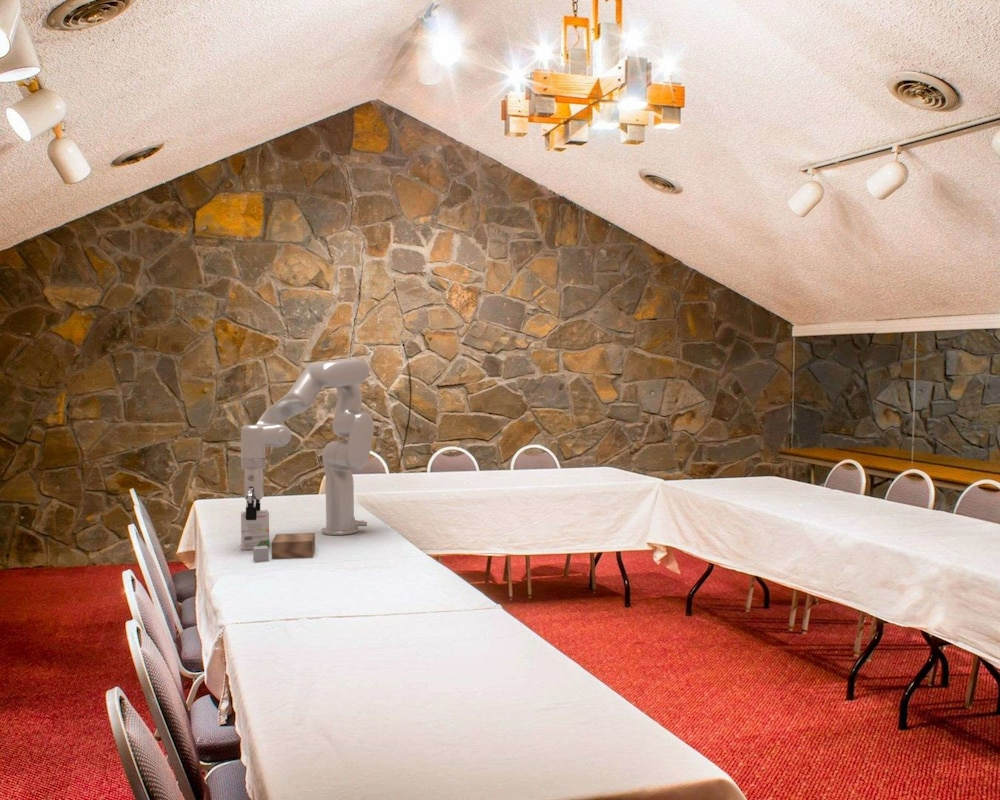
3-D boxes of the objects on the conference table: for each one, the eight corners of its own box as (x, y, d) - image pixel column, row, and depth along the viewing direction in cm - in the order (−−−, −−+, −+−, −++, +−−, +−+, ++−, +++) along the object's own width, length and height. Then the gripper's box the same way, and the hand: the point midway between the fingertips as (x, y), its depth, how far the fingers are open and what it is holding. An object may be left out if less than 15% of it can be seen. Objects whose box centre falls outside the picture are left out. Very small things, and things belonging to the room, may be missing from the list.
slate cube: (266, 558, 276) (266, 545, 276) (269, 561, 273) (268, 548, 272) (253, 560, 275) (253, 546, 274) (255, 562, 271) (254, 549, 271)
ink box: (268, 545, 296) (267, 509, 295) (269, 548, 291) (269, 511, 290) (241, 547, 293) (240, 510, 292) (241, 550, 288) (241, 513, 288)
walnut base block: (315, 548, 290) (314, 532, 290) (312, 557, 277) (312, 541, 277) (276, 549, 288) (276, 534, 288) (271, 558, 276) (271, 542, 275)
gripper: (262, 466, 282) (262, 521, 283) (268, 461, 300) (268, 513, 300) (237, 466, 281) (237, 522, 282) (244, 461, 298) (244, 513, 299)
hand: (253, 517), depth 291 cm, fingers open, 9 cm apart
